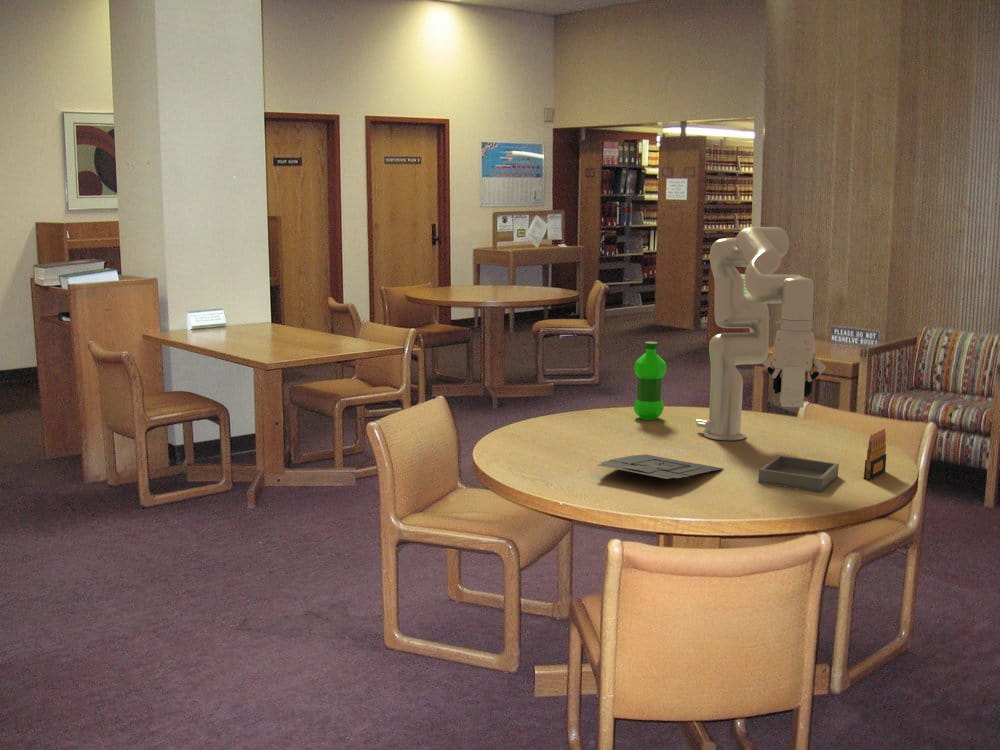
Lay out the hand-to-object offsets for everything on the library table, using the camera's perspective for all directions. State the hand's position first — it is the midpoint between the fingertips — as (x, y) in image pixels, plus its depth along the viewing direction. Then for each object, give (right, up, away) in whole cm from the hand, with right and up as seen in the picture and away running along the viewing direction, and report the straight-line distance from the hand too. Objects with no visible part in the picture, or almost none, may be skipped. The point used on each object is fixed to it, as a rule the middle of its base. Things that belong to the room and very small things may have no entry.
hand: (792, 393), depth 268 cm
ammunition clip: (+24, -22, +6) cm, 33 cm away
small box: (0, -3, +1) cm, 3 cm away
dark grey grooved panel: (-34, -22, +6) cm, 41 cm away
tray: (+2, -22, +2) cm, 22 cm away
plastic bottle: (-27, -9, +70) cm, 76 cm away
